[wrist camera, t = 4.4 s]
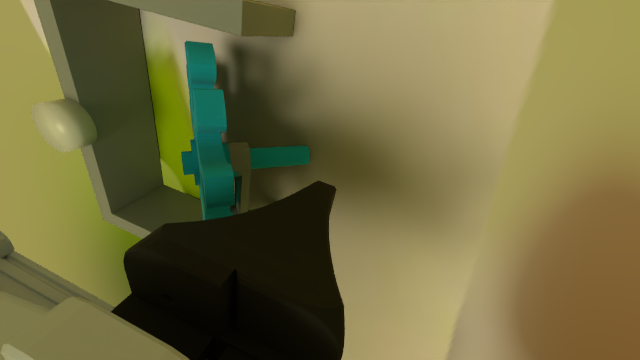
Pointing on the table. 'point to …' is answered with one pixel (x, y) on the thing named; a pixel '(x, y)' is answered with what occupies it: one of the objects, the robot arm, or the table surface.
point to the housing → (127, 97)
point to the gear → (222, 158)
